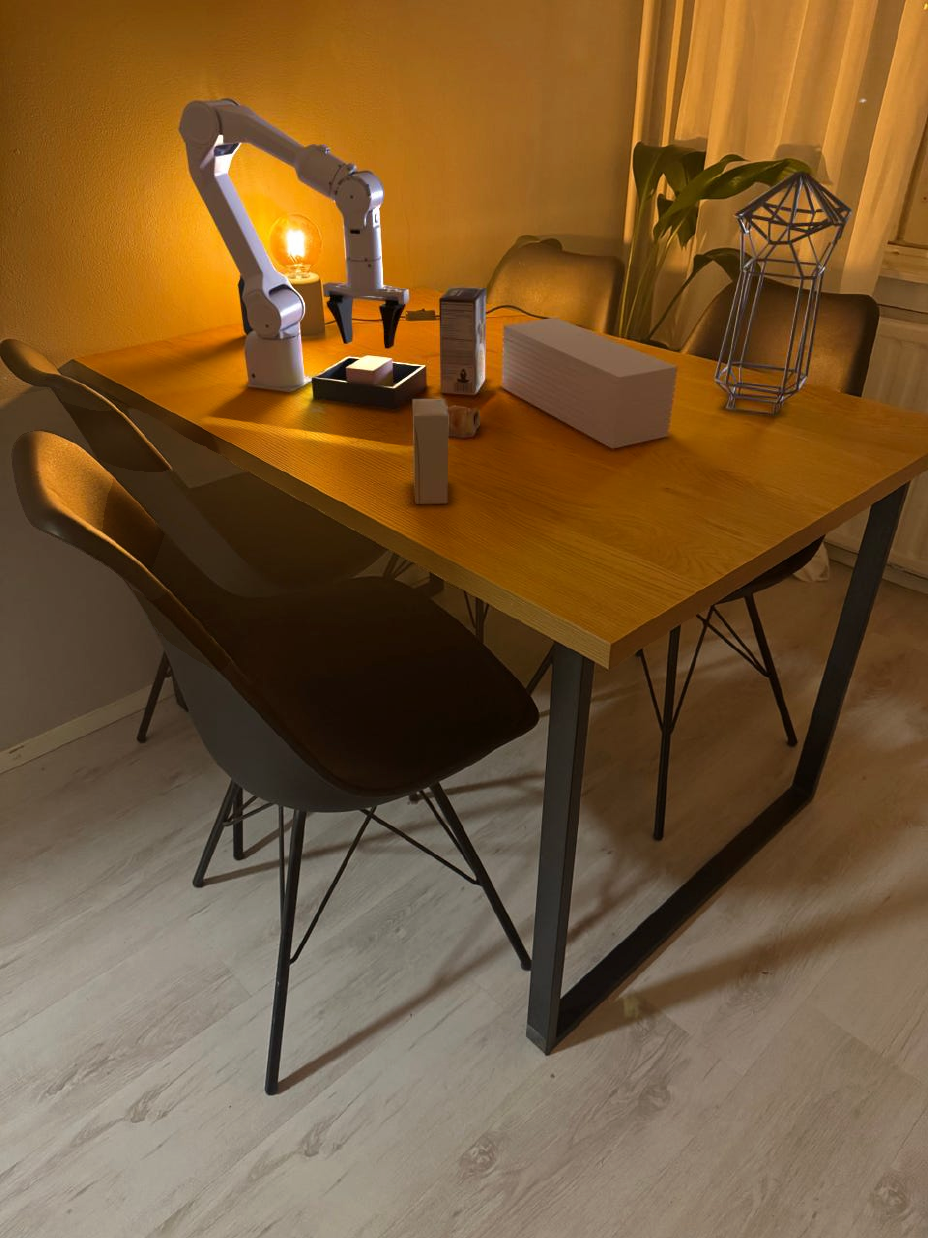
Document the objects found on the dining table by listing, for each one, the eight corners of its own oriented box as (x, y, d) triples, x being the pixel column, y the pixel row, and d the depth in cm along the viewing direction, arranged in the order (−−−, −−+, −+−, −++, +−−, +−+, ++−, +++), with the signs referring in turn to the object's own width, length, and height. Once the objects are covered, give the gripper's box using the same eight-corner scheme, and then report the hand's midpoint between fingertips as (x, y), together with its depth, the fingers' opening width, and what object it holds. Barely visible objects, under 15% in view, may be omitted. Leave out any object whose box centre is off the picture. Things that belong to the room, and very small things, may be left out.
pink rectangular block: (347, 396, 147) (345, 367, 145) (367, 383, 153) (366, 355, 151) (374, 400, 146) (372, 370, 143) (393, 386, 152) (392, 358, 149)
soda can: (251, 330, 184) (243, 270, 178) (282, 331, 183) (276, 271, 177) (239, 339, 178) (231, 277, 172) (272, 340, 177) (265, 278, 171)
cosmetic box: (413, 485, 118) (410, 397, 112) (446, 484, 118) (445, 397, 112) (415, 505, 113) (412, 414, 106) (449, 504, 113) (449, 414, 107)
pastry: (414, 434, 134) (413, 410, 132) (425, 420, 139) (424, 396, 137) (474, 439, 132) (474, 415, 130) (482, 424, 138) (483, 401, 136)
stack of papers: (501, 387, 153) (503, 324, 147) (552, 378, 157) (556, 317, 151) (612, 449, 129) (619, 377, 123) (668, 436, 134) (677, 366, 128)
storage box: (313, 400, 147) (311, 377, 145) (349, 377, 157) (348, 356, 155) (395, 411, 142) (394, 388, 140) (426, 387, 153) (426, 365, 151)
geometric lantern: (719, 385, 154) (756, 163, 135) (812, 399, 148) (864, 168, 129) (698, 413, 142) (735, 173, 123) (798, 428, 136) (853, 180, 117)
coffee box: (450, 378, 157) (450, 285, 148) (485, 380, 156) (487, 287, 147) (439, 394, 150) (438, 297, 141) (476, 397, 149) (477, 299, 140)
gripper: (415, 256, 139) (417, 342, 146) (334, 250, 143) (341, 334, 151) (397, 264, 133) (400, 353, 141) (313, 257, 138) (321, 344, 145)
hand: (368, 344), depth 145 cm, fingers open, 7 cm apart
